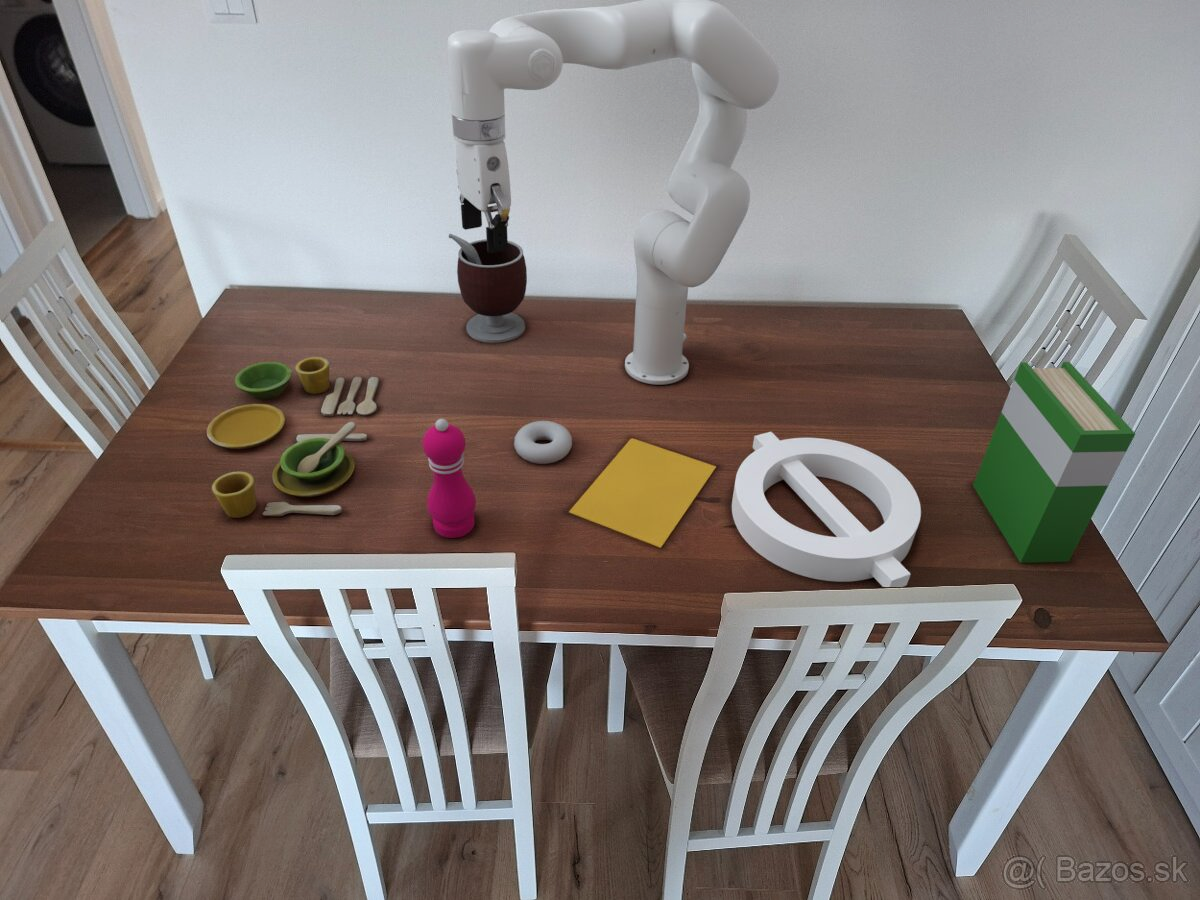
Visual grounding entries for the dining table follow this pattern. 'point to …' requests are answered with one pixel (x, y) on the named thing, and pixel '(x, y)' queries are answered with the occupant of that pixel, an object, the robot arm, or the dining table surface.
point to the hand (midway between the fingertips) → (484, 239)
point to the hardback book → (1050, 461)
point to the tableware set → (304, 464)
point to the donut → (543, 451)
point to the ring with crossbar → (826, 510)
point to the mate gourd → (492, 289)
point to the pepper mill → (448, 481)
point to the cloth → (644, 492)
